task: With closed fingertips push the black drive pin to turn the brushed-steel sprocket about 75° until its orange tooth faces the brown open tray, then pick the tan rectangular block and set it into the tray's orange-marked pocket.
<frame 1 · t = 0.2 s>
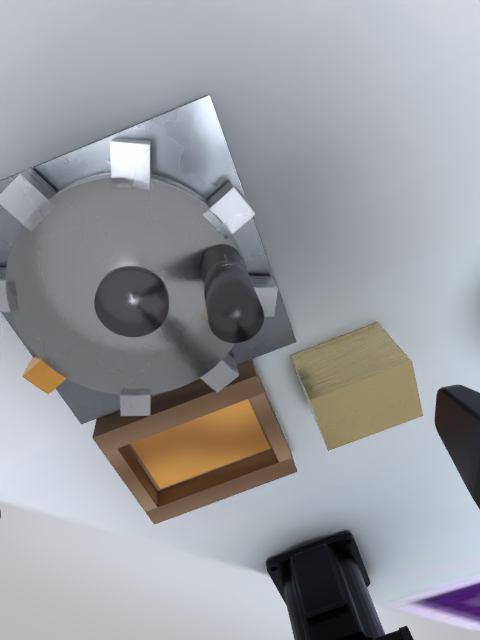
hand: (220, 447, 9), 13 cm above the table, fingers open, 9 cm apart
sprocket base: (136, 278, 21), on the table
brown open tray: (199, 435, 26), on the table
tan rectangular block: (340, 363, 25), on the table
sprocket: (129, 318, 17), point 4 cm above the table, hinge at 0.0°
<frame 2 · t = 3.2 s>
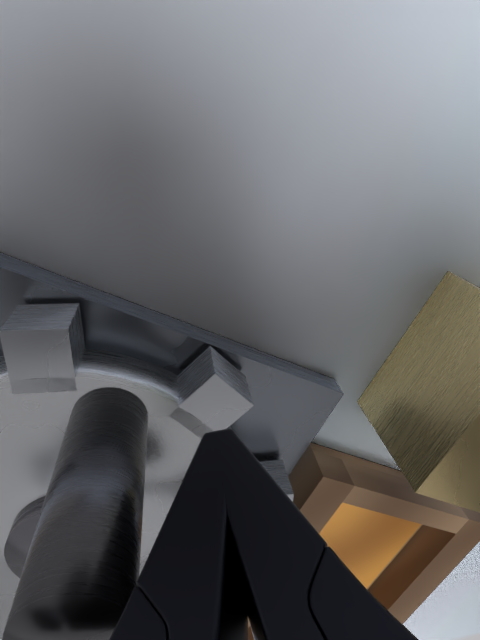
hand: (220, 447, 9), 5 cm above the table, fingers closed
sprocket base: (84, 469, 14), on the table
brown open tray: (330, 550, 18), on the table
tan rectangular block: (439, 357, 15), on the table
sprocket: (56, 597, 11), point 4 cm above the table, hinge at 4.9°, touching gripper
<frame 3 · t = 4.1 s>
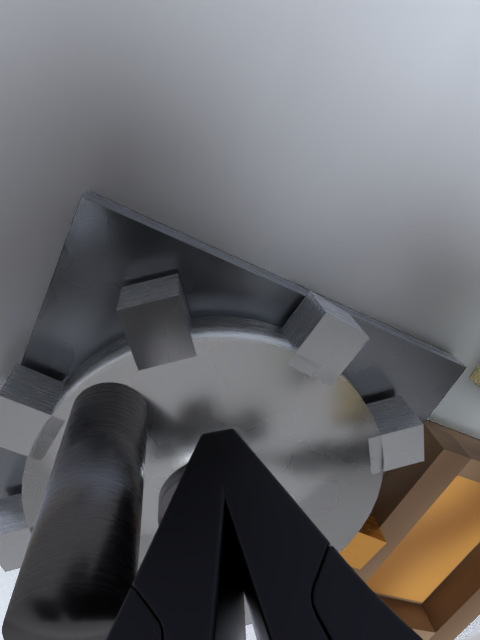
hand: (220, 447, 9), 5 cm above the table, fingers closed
sprocket base: (206, 441, 15), on the table
brown open tray: (423, 527, 18), on the table
sprocket: (218, 556, 11), point 4 cm above the table, hinge at 63.8°, touching gripper
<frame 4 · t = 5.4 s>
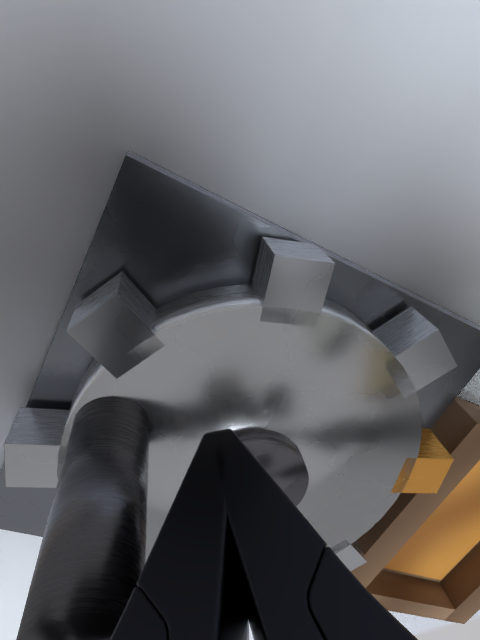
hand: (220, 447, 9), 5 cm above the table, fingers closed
sprocket base: (236, 416, 14), on the table
brown open tray: (445, 505, 18), on the table
sprocket: (262, 527, 11), point 4 cm above the table, hinge at 86.8°, touching gripper
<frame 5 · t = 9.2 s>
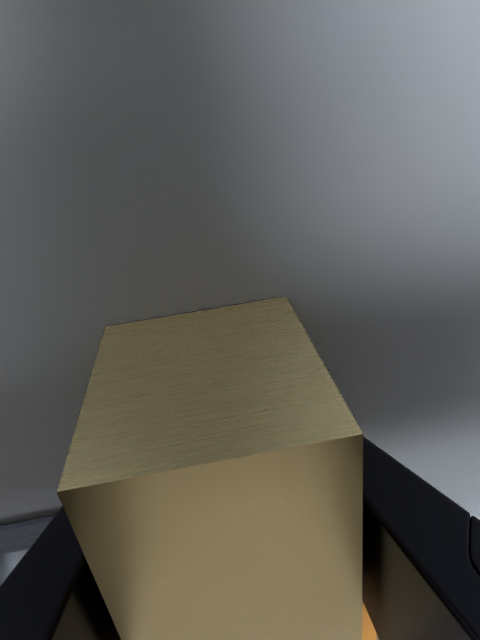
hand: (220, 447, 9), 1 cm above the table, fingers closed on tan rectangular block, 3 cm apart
brown open tray: (298, 634, 14), on the table
tan rectangular block: (215, 413, 10), on the table, touching gripper
when the fingers open (3 cm above the table, at t = 12.4 s): tan rectangular block drops 1 cm, resting on brown open tray.
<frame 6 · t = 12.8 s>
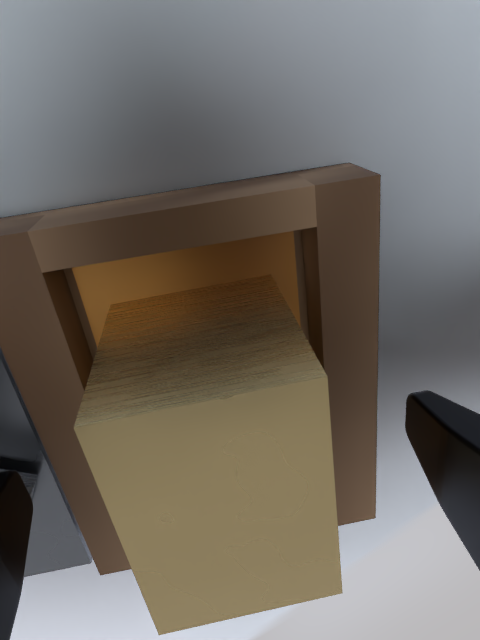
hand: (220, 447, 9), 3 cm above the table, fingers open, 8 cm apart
brown open tray: (208, 372, 11), on the table
tan rectangular block: (211, 383, 11), resting on brown open tray
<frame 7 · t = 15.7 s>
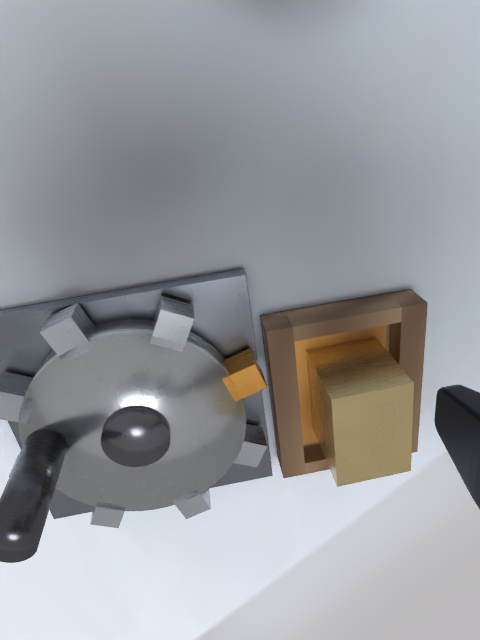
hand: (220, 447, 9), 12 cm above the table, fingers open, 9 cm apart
sprocket base: (140, 400, 22), on the table
brown open tray: (338, 379, 24), on the table
tan rectangular block: (342, 384, 23), resting on brown open tray
sprocket: (133, 461, 19), point 4 cm above the table, hinge at 86.8°
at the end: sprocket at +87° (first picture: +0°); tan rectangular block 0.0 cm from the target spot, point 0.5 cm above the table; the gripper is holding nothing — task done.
